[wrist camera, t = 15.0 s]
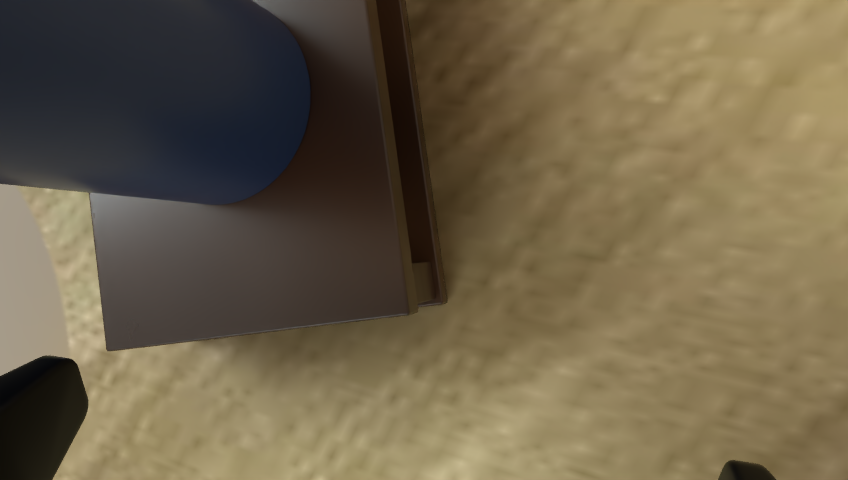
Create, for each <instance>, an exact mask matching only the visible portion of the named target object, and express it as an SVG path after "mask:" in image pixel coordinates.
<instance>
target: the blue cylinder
mask: <svg viewBox="0 0 848 480" xmlns="http://www.w3.org/2000/svg"><path fill="white" fill-rule="evenodd" d="M310 95H311V90H310V80H309V74H308V69H307V65H306V62H305V59H304V56H303V53H302V51H301V49H300V47H299V45H298V43H297V41H296V39H295V38H294V36H293V35H292V33H291V32H290V31H289V29H288V28H287V27H286V26H285V25H284V24H283V23H282V22H281V21H280V20H279V19H278V18H277V17H276V16H274V15H273V14H272V13H270V12H269V11H268V10H266V9H265V8H263V7H262V6H260V5H259V4H257V3H256V2H254V1H252V0H0V184H9V185H19V186H29V187H39V188H49V189H59V190H69V191H78V192H88V193H98V194H108V195H118V196H128V197H138V198H148V199H158V200H168V201H178V202H188V203H198V204H208V205H223V204H229V203H235V202H238V201H241V200H244V199H247V198H249V197H251V196H253V195H255V194H257V193H258V192H260V191H261V190H263V189H264V188H266V187H267V186H268V185H270V184H271V183H272V182H273V181H274V180H275V179H277V178H278V176H279V175H280V174H281V173H282V172H283V171H284V170H285V169H286V167H287V166H288V164H289V163H290V161H291V160H292V159H293V157H294V155H295V153H296V151H297V150H298V148H299V146H300V144H301V141H302V138H303V136H304V133H305V130H306V126H307V122H308V118H309V111H310Z"/></svg>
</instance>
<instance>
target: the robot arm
mask: <svg viewBox="0 0 848 480" xmlns="http://www.w3.org/2000/svg"><path fill="white" fill-rule="evenodd" d="M87 410H88V397H87V394H86V391H85V387H84V384H83V381H82V378H81V375H80V371H79V368H78V366H77V364H76V363H75V362H74V361H73V360H72V359H69V358H63V357H56V356H42V357H40V358H37V359H35V360H33V361H31V362H29V363H27V364H25V365H23V366H21V367H19V368H17V369H14V370H12V371H10V372H8V373H6V374H4V375H2V376H0V480H52V479H53V477H54V475H55V474H56V472H57V470H58V468H59V466H60V464H61V462H62V460H63V458H64V457H65V455H66V453H67V451H68V449H69V447H70V445H71V443H72V441H73V439H74V438H75V436H76V434H77V432H78V430H79V428H80V426H81V424H82V422H83V421H84V419H85V416H86V414H87ZM718 480H776V479H775V478H774V476H773V475H772V474H771V473H770V472H769V471H768V470H767V469H766V468H765V467H763V466H762V465H760V464H756V463H749V462H743V461H736V460H730V461H728V462H727V463H726V464H725V465H724V467H723V469H722V472H721V474H720V476H719V479H718Z"/></svg>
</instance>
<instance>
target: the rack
mask: <svg viewBox="0 0 848 480" xmlns="http://www.w3.org/2000/svg"><path fill="white" fill-rule="evenodd" d="M252 1H254V2H256V3H257V4H259V5H260V6H262V7H263V8H265V9H266V10H268V11H269V12H270V13H272V14H273V15H274V16H276V17H277V18H278V19H279V20H280V21H281V22H282V23H283V24H284V25H285V26H286V27H287V28H288V29H289V31H290V32H291V33H292V35H293V36H294V38H295V39H296V41H297V43H298V45H299V47H300V49H301V51H302V53H303V56H304V59H305V62H306V65H307V69H308V74H309V80H310V90H311V95H310V111H309V118H308V122H307V126H306V130H305V133H304V136H303V138H302V141H301V144H300V146H299V148H298V150H297V151H296V153H295V155H294V157H293V159H292V160H291V161H290V163H289V164H288V166H287V167H286V169H285V170H284V171H283V172H282V173H281V174H280V175H279V176H278V178H277V179H275V180H274V181H273V182H272V183H271V184H270V185H268V186H267V187H266V188H264V189H263V190H261V191H260V192H258V193H257V194H255V195H253V196H251V197H249V198H247V199H244V200H241V201H238V202H235V203H229V204H223V205H208V204H198V203H188V202H178V201H168V200H158V199H148V198H138V197H128V196H118V195H108V194H98V193H89V198H90V207H91V216H92V224H93V233H94V242H95V251H96V260H97V269H98V278H99V286H100V295H101V304H102V313H103V322H104V331H105V340H106V349H107V351H117V350H125V349H133V348H142V347H150V346H158V345H167V344H175V343H183V342H191V341H200V340H208V339H216V338H225V337H233V336H241V335H249V334H258V333H266V332H274V331H282V330H291V329H299V328H307V327H316V326H324V325H332V324H340V323H349V322H357V321H365V320H374V319H382V318H390V317H398V316H407V315H411V314H414V313H417V312H418V307H426V306H434V305H442V304H445V303H447V295H446V288H445V281H444V274H443V267H442V260H441V253H440V245H439V238H438V231H437V224H436V217H435V210H434V203H433V195H432V188H431V181H430V174H429V167H428V160H427V153H426V146H425V138H424V131H423V124H422V117H421V110H420V103H419V96H418V89H417V81H416V74H415V67H414V60H413V53H412V46H411V39H410V31H409V24H408V17H407V10H406V3H405V0H252Z"/></svg>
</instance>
